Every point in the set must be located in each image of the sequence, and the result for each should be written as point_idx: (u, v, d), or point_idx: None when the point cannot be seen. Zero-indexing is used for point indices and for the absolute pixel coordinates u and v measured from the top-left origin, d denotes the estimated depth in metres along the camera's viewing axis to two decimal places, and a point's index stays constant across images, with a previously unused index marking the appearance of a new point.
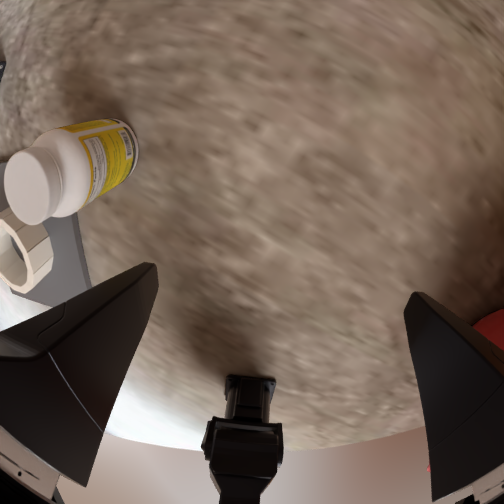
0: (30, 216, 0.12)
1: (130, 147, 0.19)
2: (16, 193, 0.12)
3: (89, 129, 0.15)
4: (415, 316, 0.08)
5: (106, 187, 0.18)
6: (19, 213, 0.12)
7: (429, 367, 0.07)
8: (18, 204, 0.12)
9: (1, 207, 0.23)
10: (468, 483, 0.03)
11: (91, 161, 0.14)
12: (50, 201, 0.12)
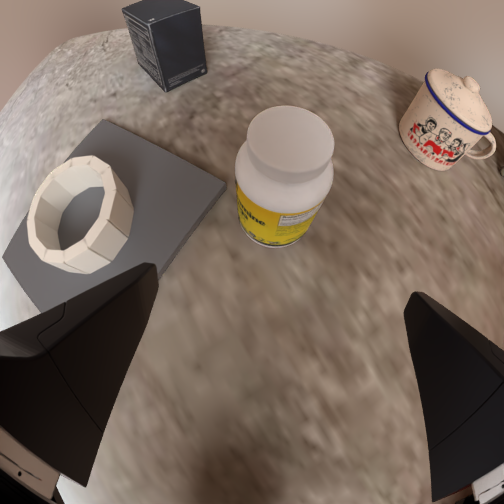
0: (277, 157, 0.13)
1: None
2: (274, 130, 0.14)
3: None
4: (415, 316, 0.08)
5: (296, 227, 0.19)
6: (260, 145, 0.13)
7: (429, 367, 0.07)
8: (267, 138, 0.13)
9: None
10: (468, 483, 0.03)
11: None
12: (322, 166, 0.13)
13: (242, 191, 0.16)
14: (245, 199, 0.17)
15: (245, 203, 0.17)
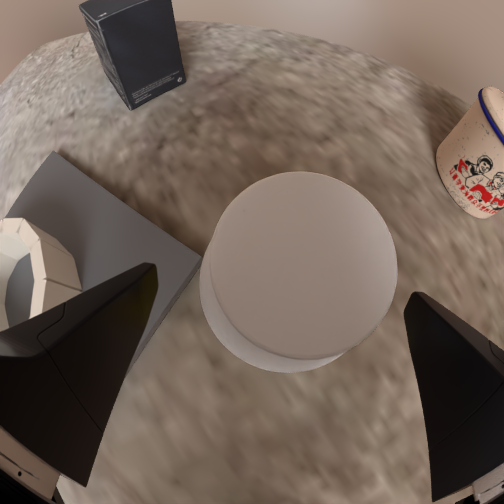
0: (276, 325, 0.06)
1: None
2: (272, 244, 0.06)
3: None
4: (415, 316, 0.08)
5: None
6: (237, 291, 0.06)
7: (429, 367, 0.07)
8: (256, 270, 0.06)
9: (35, 223, 0.17)
10: (468, 483, 0.03)
11: None
12: (369, 334, 0.06)
13: None
14: None
15: None
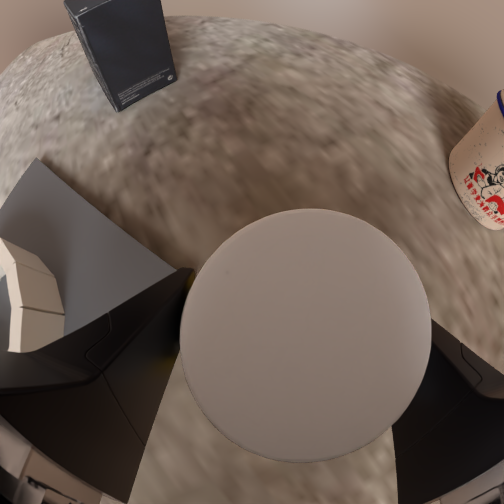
0: (270, 429, 0.04)
1: None
2: (267, 323, 0.04)
3: None
4: None
5: None
6: (218, 387, 0.04)
7: None
8: (244, 361, 0.04)
9: (17, 237, 0.15)
10: (434, 498, 0.03)
11: None
12: (388, 425, 0.04)
13: None
14: None
15: None
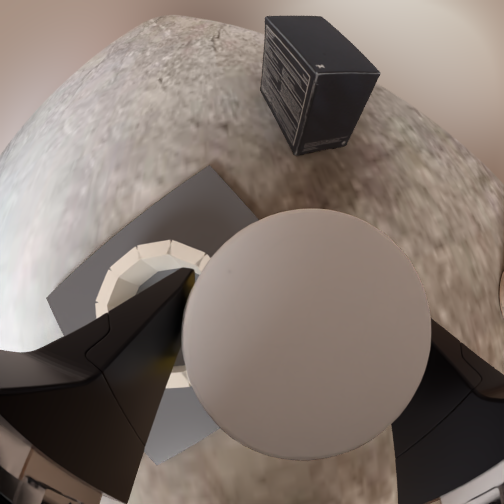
0: (272, 426, 0.04)
1: None
2: (269, 322, 0.04)
3: None
4: None
5: None
6: (220, 385, 0.04)
7: None
8: (246, 359, 0.04)
9: (186, 240, 0.22)
10: (434, 498, 0.03)
11: None
12: (388, 423, 0.04)
13: None
14: None
15: None
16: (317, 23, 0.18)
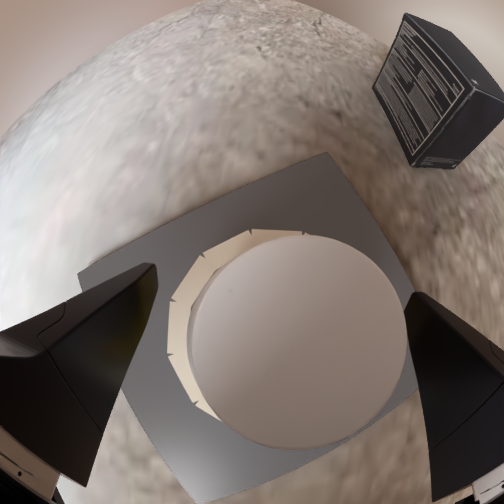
0: (265, 420, 0.05)
1: None
2: (263, 333, 0.05)
3: None
4: (415, 316, 0.08)
5: None
6: (223, 385, 0.05)
7: (429, 367, 0.07)
8: (244, 364, 0.05)
9: None
10: (468, 483, 0.03)
11: None
12: (368, 420, 0.05)
13: None
14: None
15: None
16: (452, 37, 0.13)
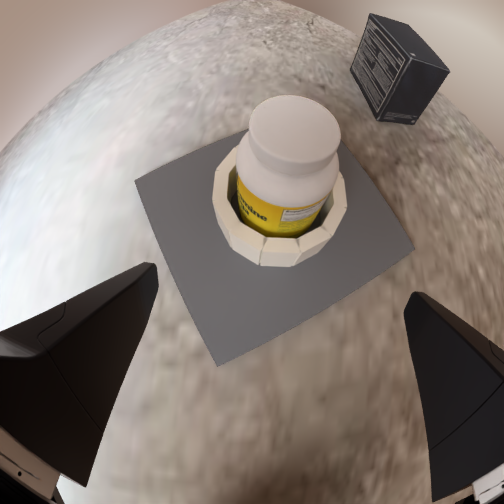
0: (281, 147, 0.12)
1: None
2: (278, 119, 0.13)
3: None
4: (415, 316, 0.08)
5: (299, 223, 0.18)
6: (262, 134, 0.12)
7: (429, 367, 0.07)
8: (271, 127, 0.13)
9: None
10: (468, 483, 0.03)
11: None
12: (328, 157, 0.12)
13: (243, 184, 0.15)
14: (246, 192, 0.16)
15: (246, 197, 0.17)
16: (406, 28, 0.20)
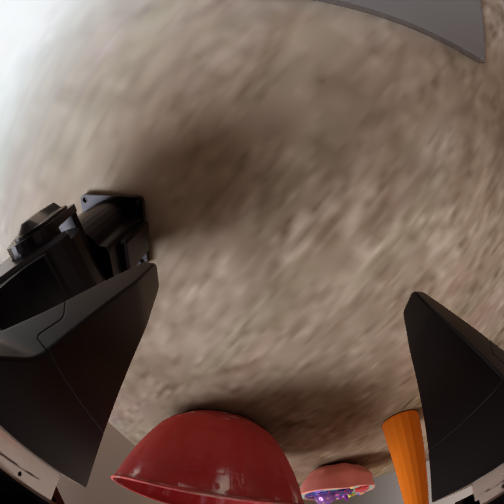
0: None
1: None
2: None
3: None
4: (415, 316, 0.08)
5: None
6: None
7: (429, 367, 0.07)
8: None
9: None
10: (468, 483, 0.03)
11: None
12: None
13: None
14: None
15: None
16: None
